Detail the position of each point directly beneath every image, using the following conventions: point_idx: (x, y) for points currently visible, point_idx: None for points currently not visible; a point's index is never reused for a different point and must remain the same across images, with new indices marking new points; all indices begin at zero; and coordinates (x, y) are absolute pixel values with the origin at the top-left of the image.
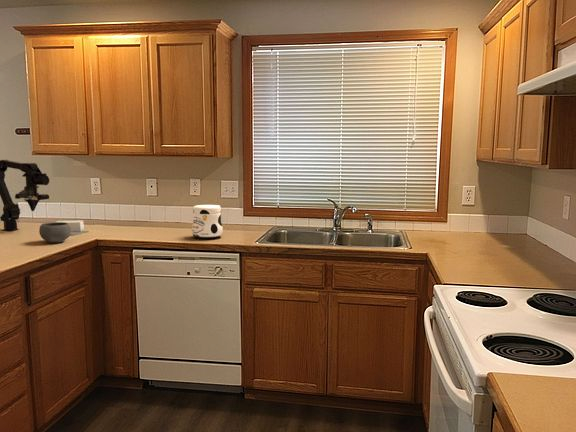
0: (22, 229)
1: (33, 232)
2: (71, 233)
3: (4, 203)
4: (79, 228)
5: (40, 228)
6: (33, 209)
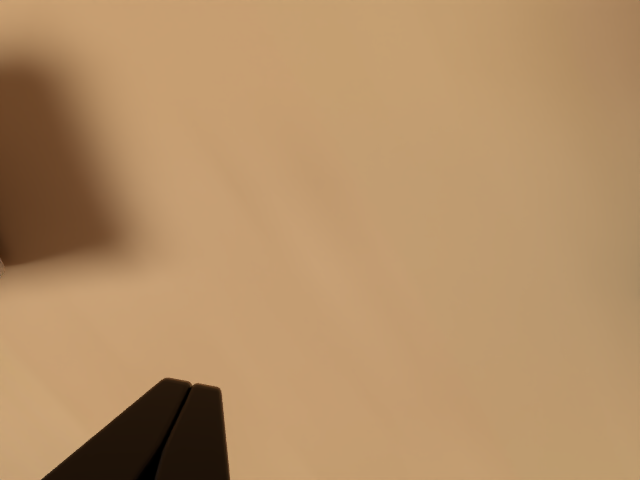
0: (595, 334)
1: (282, 80)
2: None
3: None
4: None
5: None
6: (118, 430)
